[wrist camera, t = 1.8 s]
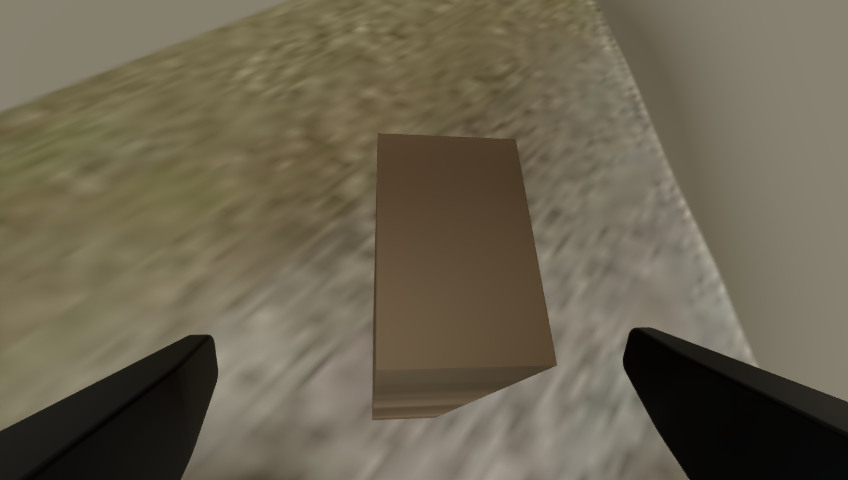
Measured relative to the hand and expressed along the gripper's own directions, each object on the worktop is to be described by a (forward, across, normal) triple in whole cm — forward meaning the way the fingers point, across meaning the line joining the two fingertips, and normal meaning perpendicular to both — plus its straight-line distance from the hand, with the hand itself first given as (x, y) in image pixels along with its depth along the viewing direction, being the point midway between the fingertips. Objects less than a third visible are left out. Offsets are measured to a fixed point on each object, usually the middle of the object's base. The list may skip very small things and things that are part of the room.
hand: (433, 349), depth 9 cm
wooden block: (+7, 0, +6) cm, 9 cm away
